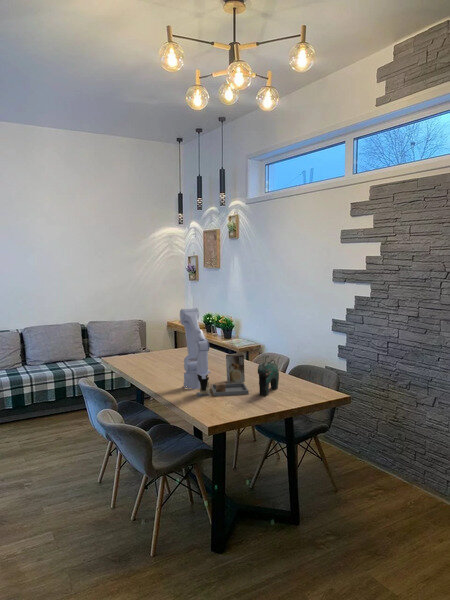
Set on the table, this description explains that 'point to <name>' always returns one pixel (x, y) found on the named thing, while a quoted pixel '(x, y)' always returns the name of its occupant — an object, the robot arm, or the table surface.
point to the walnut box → (220, 387)
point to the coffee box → (235, 368)
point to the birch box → (206, 389)
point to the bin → (231, 389)
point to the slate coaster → (202, 394)
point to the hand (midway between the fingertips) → (203, 389)
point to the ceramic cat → (268, 376)
